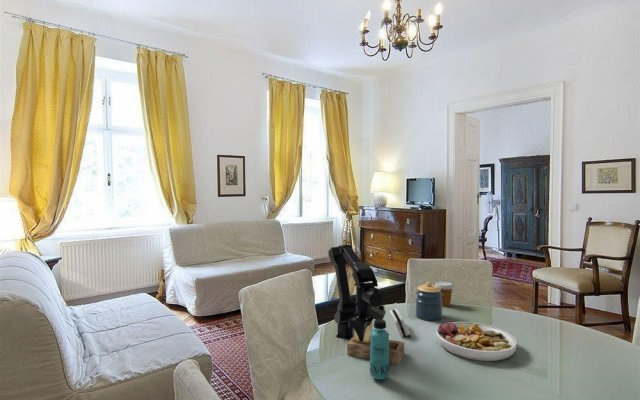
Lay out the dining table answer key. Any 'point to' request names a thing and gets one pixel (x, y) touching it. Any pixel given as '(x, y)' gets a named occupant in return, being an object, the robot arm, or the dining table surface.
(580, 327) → the dining table surface
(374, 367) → the beverage bottle
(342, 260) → the robot arm
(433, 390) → the dining table surface
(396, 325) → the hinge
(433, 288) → the canister
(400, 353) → the recessed tan tray
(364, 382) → the dining table surface
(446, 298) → the disposable coffee cup
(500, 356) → the charcuterie platter
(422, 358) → the dining table surface
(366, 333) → the tan block
